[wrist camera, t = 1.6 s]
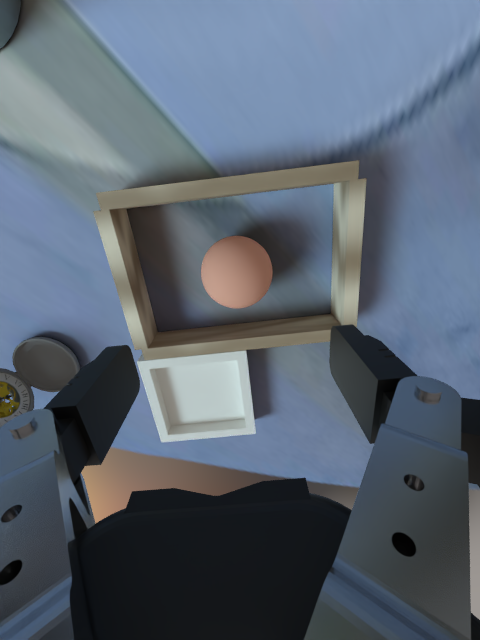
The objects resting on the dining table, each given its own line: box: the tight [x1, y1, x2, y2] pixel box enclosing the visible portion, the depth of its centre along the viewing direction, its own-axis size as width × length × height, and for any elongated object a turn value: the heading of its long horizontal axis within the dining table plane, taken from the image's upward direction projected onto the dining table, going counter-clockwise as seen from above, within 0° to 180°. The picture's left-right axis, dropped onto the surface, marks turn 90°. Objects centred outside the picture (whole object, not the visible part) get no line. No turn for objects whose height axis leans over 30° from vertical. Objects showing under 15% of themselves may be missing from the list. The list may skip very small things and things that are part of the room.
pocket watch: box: [0, 337, 80, 427], centre depth 25 cm, size 8×8×10 cm
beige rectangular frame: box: [93, 160, 366, 360], centre depth 24 cm, size 14×20×4 cm
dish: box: [137, 350, 256, 442], centre depth 30 cm, size 11×11×2 cm
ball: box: [201, 236, 273, 308], centre depth 23 cm, size 6×6×6 cm
